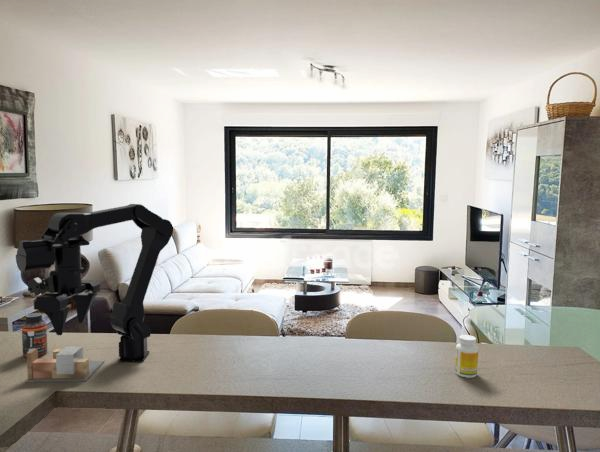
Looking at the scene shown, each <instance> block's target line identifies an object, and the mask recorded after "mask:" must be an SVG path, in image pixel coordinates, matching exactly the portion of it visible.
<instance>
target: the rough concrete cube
mask: <svg viewBox="0 0 600 452" xmlns="http://www.w3.org/2000/svg"><path fill="white" fill-rule="evenodd" d="M62 349H63V350H61V351H60V352H59V353H58V354H56V368H57V374H74V373H76V368H75V363H76V362H77V361H78V360H79V359H84V350H83V349H84V347H83V346H65V347H64V348H62Z"/></svg>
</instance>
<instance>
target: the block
mask: <svg viewBox="0 0 600 452" xmlns="http://www.w3.org/2000/svg"><path fill="white" fill-rule="evenodd" d="M63 349H64V348H56V349H54V350H53V351H52V358H39V357H38V352H37V349H32V350H31V351H29V352H28V353H27V357H26V364H27V365H26V367H27V380H28V379H38V378H86V377H87V376H88V375H89V361H90V359H89V358H83V359H79V360H78V361H77V362H76V363H75V368H76V373H74V374H57V368H56V354H58V353H59V352H60V351H61V350H63Z"/></svg>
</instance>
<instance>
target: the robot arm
mask: <svg viewBox="0 0 600 452" xmlns="http://www.w3.org/2000/svg"><path fill="white" fill-rule="evenodd" d="M129 221H132V222H133V223H134V224H135V225H136V226H137V227H138V228H139V229H141V232H140V233H141V234H140V241H141V250H140V253H139V255H138V259H137V262H136V264H135V267H134V270H133V272H132V276H131V279H130V282H129V285H128V288H127V291H126V294H125V296H124V298H122V300H121V301H120V302H118V301H114V303H113V307H112V311H111V313H110V314H109V317H110V321H109V324H110V325H111V327H112V328H113V329H114V330H116V333H117V335H120V337H119V339H120V340H119V342H118V356H119V357H118V362H121V363H123V362H126V363H128V362H139V363H140V362H144V361H145V359H146V358H147V357H148V356H149V355H150V351H149V350H148V338H150V337H151V334H152V328H151V327H150V326H149V325H147V324H146V323H144V319H145V307H144V302H145V299H146V294H147V291H148V288H149V285H150V283H151V279H152V277H153V273H154V270H155V268H156V265H157V261H158V258H159V255H160V253H161V252H162V250H163V249H164V248H165V247H166V246H167V245H168V244H169V242H170V240H171V237H172V236H173V235H174V234H173V233H174V229H175V228H174V226H173V224H172V222H171V221H170V220H168V219H166V218H162V217H161V216H159V215H158V214H156V213H155V212H153V211H151V210H149V209H148V208H147V207H146V206H144V205H143V204H140V203H139V204H138V203H130V204H128V205H123V206H117V207H112V208H105V209H103V210H102V209H100V210H95V211H90V212H57V213H54V214H53V215H52V216H51V217H50V219H49V222H48V227H47V228H46V229H45V231H44V232H43V233H42V235H41V236H40V237H39V239H37V240H20V241H19V243H18V244H19V246H18V247H17V250H16V254H15V262H16V266H17V268H18V270H19V271H20V272H22V273H23V272H30V271H36V270H43V269H44V270H45V269H50V268H51V267H52V265H54V269H53V270H51V271H50V272H49V277H47V278H43V279H41V278H40V277H38V276H37V277H35V278H31V279H29V280H27V291H28V292H29V293H31V294H33V295H34V297H35V298H34V300H32V302H33V310H35V311H36V310H37V311H38V313H43V314H45V315H46V316H47V317H48V319H49V321H50V324H51V325H52V327H53V330H54V332H55V333H56V336H62V335H63V333H64V330H65V326H66V322H67V318H68V313H69V309H70V307H69V306H68V304H69V302H70V301H69V299H71V298H72V300H73V301H74V302H75V309H76V317H77V322H78V323H79V324H83V323H84V322H85V321H86V319H87V318H86V317H87V315H88V313H89V311H90V309H91V307H92V304H93V303H94V300H95V299H96V297H97V296H98V292H100V291H101V283H100V282H99V281H98V280H95V279H82V278H83V277H82V275H83V273H85V272H86V267H82V256H81V255H82V254H81V253H82V252H81V247H83V246H89V245H90V241H88V240H86V239H85V238H84V235H85V234H87V233H89V232H91V231H92V230H94V229H97V228H101V227H106V226H110V225H115V224H119V223H124V222H129ZM40 294H41V295H40Z"/></svg>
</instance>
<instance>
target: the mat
mask: <svg viewBox="0 0 600 452" xmlns="http://www.w3.org/2000/svg"><path fill="white" fill-rule="evenodd" d="M104 363H105V360H89V375H88V376H87V377H86V378H38V379H28V378H27V380H26V382H28V383H31V382H32V383H33V382H34V383H35V382H38V383H40V382H41V383H42V382H43V383H44V382H47V383H48V382H87V381H88V380H89V379H90V378H91V377H92V376H93V375H94V374H95V373H96V372H97V370H98V369H100V368H101V366H102V365H103V364H104Z"/></svg>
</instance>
